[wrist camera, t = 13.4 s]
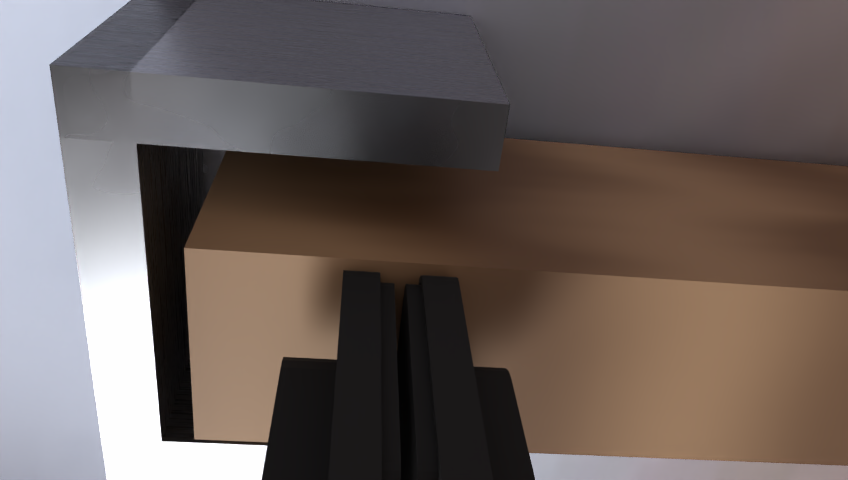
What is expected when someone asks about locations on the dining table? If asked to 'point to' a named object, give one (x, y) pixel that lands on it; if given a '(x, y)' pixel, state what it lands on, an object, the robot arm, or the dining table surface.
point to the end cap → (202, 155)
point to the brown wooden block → (550, 290)
